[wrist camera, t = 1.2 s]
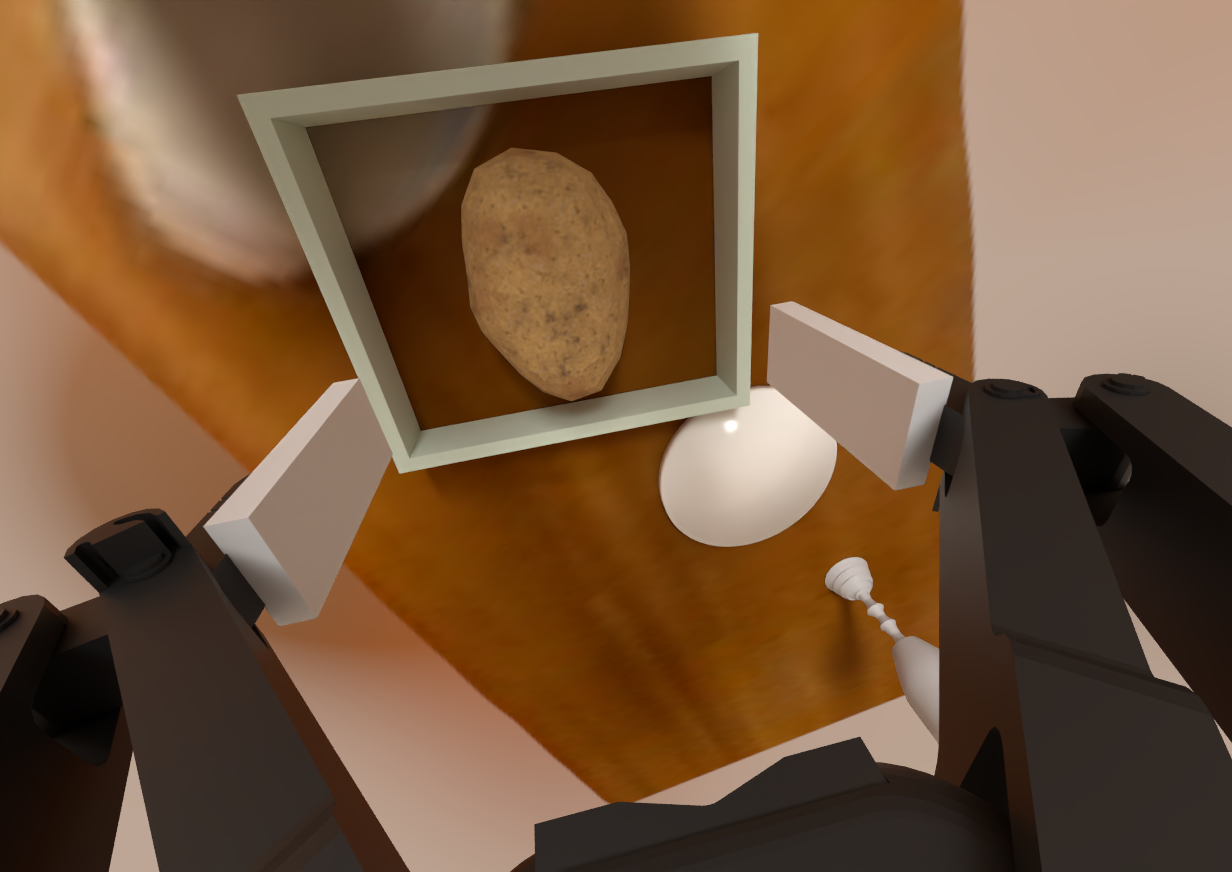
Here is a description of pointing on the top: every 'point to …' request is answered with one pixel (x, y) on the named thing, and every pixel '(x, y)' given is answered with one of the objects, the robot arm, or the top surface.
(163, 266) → the top surface
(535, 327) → the potato
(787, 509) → the plate
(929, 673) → the chalice
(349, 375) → the top surface
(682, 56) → the crate
